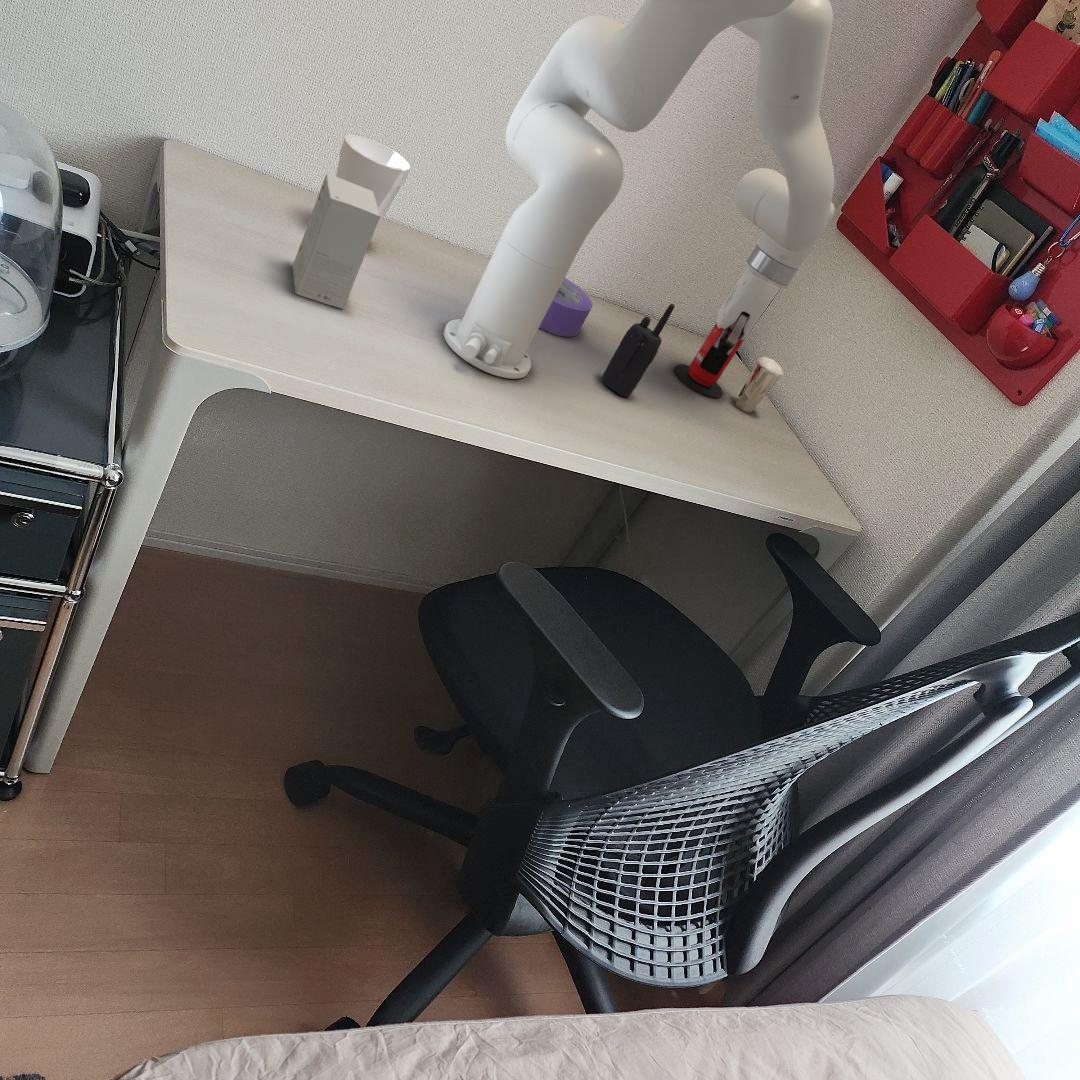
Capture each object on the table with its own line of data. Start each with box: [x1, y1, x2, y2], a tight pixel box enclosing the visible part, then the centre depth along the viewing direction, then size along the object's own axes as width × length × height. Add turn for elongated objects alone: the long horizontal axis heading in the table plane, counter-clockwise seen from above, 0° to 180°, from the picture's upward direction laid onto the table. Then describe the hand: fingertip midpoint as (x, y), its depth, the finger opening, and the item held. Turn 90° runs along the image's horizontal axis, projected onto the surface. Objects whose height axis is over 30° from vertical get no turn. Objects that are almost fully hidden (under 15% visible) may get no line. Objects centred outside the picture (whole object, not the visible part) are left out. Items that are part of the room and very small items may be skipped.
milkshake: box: [734, 356, 794, 414], centre depth 163 cm, size 4×5×10 cm
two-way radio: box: [601, 303, 676, 397], centre depth 142 cm, size 6×4×15 cm
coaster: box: [673, 363, 724, 400], centre depth 165 cm, size 9×9×1 cm
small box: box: [292, 172, 380, 310], centre depth 124 cm, size 8×6×13 cm
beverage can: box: [688, 322, 745, 387], centre depth 162 cm, size 5×5×12 cm
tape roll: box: [538, 277, 594, 338], centre depth 155 cm, size 12×12×5 cm
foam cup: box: [335, 134, 411, 236], centre depth 141 cm, size 10×9×13 cm
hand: (709, 363), depth 163 cm, fingers closed on beverage can, 5 cm apart
